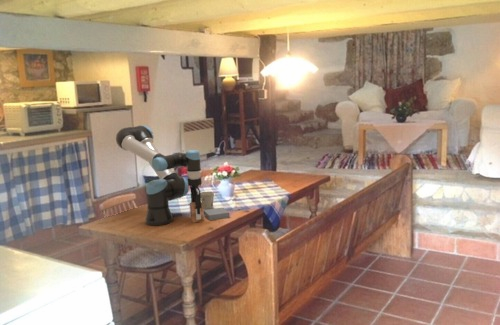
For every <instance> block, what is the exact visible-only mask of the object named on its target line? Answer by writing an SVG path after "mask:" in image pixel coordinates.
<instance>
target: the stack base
mask: <svg viewBox="0 0 500 325" xmlns="http://www.w3.org/2000/svg"><path fill="white" fill-rule="evenodd" d="M230 214H231V213H230V211H229V210H227V208H225V207H217V208H216V207H215V208H213V209H209V210H203V215H204V217H205V218H206V219H207V220H208V221H215V220H222V219H228V218H230Z"/></svg>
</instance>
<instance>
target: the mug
mask: <svg viewBox="0 0 500 325" xmlns="http://www.w3.org/2000/svg"><path fill="white" fill-rule="evenodd" d="M214 194H215V193H214V191H201V192H200V195H201V203H203V211H204V210H209V209H214V197H215V196H214Z"/></svg>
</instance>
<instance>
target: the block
mask: <svg viewBox="0 0 500 325" xmlns="http://www.w3.org/2000/svg"><path fill="white" fill-rule="evenodd" d="M201 207H202V208H200V209H201V219H200V220H196V210H195V208H196V205H195V202H191V201H190V202H189V212H190V220H191V222H192V223H199V222H204V221H205V218H204V217H205V216H204V210H203V203H202V202H201Z"/></svg>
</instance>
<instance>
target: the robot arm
mask: <svg viewBox="0 0 500 325" xmlns="http://www.w3.org/2000/svg"><path fill="white" fill-rule="evenodd" d="M115 142H116V144H117V146H118V148H121V149H122V150H123V151H126V152H127V151H129V152H130V153H132V154H134V155H135V156H138V157H139V158H141V159H142V160H144V161H146V162H148V164H149V165H150V167H151V168H152V169H153V170H154V173H155V174H156V176H158V178H157V179H154V180H151V181H149V182H148V183H147V184H146V187H145V188H146V189H145V192H146V202H147V212H146V216H145V224H146V225H148V226H164V225H169V224H170V223H173V221H174V219H173V218H174V216H173V214H172V211H171V209H170V207H169V201H174V200H177V199H180V198H183V197H185V196H186V195H188V193H189V190H190V203H191V202H195V205H196V208H195V210H196V220H200V219H201V209H200V208H202V207H201V203H202V202H201V195H200V193H202V191H201V190H200V188H199V187H200V186H201V185H202V178H201V177H202V173H203V171H202V170H201V168H202V167H201V155H200V151H199V150H197V149H190V150H186V151H185V152H184V153H183V152H179V151H178V152H173V153H172V154H169V155H164V154H162V153H161V152H159V150H158V149H157V148H156V145H155V144H154V132H153V131H152V129H151V128H150V127H149V126H147V125H136V126H130V127H129V126H128V127H124V128H121V129H119V130H118V131H117V133H116V135H115ZM179 167H185V168H186V169H187V170H186V173H187V176H186V177H187V178H186V177H184V176H180V175H179V174H178V173H177V172H176V171H173V170H172V169H175V168H179Z"/></svg>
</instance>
